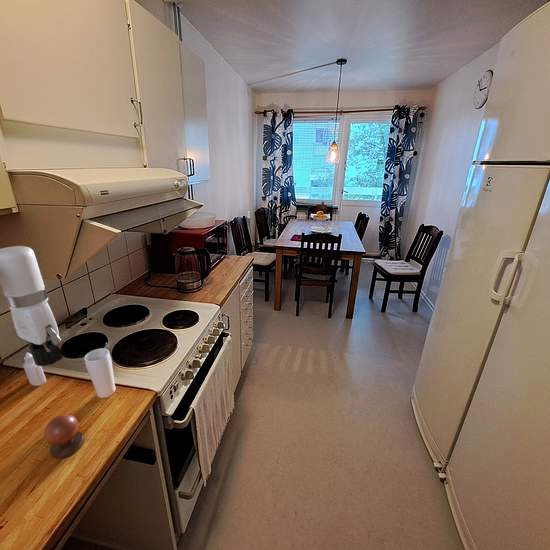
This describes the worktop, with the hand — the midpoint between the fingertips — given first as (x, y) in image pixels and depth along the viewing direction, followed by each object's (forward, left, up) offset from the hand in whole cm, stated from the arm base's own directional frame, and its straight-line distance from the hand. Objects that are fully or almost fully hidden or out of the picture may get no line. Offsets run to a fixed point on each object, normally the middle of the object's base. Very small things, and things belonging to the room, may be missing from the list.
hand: (48, 357), depth 76 cm
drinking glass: (+11, -1, -22) cm, 24 cm away
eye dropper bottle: (+4, +24, -22) cm, 32 cm away
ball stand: (-6, -9, -21) cm, 24 cm away
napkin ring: (0, 0, -1) cm, 1 cm away
